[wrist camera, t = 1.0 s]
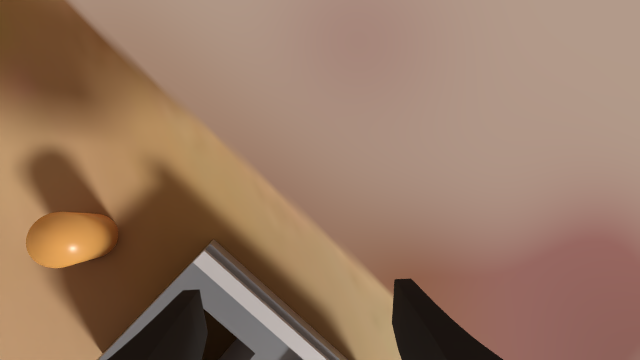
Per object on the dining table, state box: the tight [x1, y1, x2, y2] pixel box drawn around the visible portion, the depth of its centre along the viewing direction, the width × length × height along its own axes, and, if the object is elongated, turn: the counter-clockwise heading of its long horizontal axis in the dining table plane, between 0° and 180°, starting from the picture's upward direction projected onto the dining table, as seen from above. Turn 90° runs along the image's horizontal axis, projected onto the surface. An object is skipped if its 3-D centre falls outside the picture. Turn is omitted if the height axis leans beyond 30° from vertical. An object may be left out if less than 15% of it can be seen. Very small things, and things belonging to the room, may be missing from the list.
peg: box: [26, 212, 118, 268], centre depth 21 cm, size 3×3×5 cm
